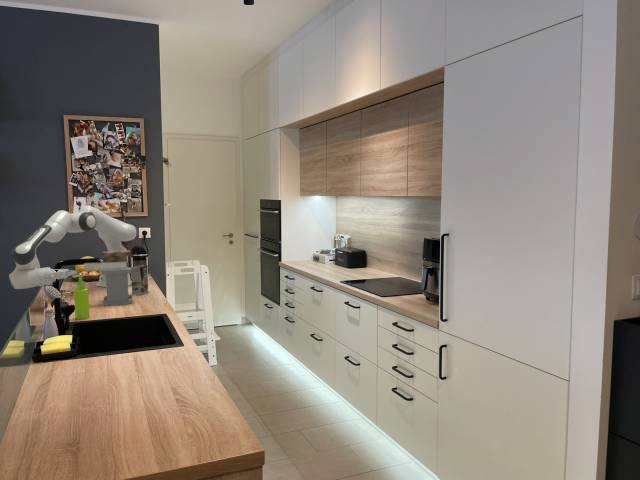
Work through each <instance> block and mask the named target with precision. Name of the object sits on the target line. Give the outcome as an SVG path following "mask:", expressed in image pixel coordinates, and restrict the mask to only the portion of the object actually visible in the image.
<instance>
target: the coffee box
mask: <svg viewBox="0 0 640 480" xmlns="http://www.w3.org/2000/svg"><path fill="white" fill-rule="evenodd" d="M148 267H149V266H148V264H139V265H138V264H136V265H133V266H131V267H130V268H131V273H130V274H131V282H132V283H131V284H132V285H131V294H132V296H144V295H145V294H147V293H149V274H148V273H149V272H148V271H149V268H148Z"/></svg>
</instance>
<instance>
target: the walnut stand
mask: <svg viewBox="0 0 640 480" xmlns="http://www.w3.org/2000/svg"><path fill="white" fill-rule="evenodd" d="M131 253H132V252H131V250H130V249H129V250H127V251H108V250H106V251H104V250H103V251H102V252H101V257H102V258H105V259H106V262H124V261H126V265H127V256H128V257H130V256H131ZM127 284H128V274H127ZM128 298H132V299H133V295H132V293H131V294H128ZM103 300H107V295H106V296H105V295H104V297H103Z"/></svg>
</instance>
